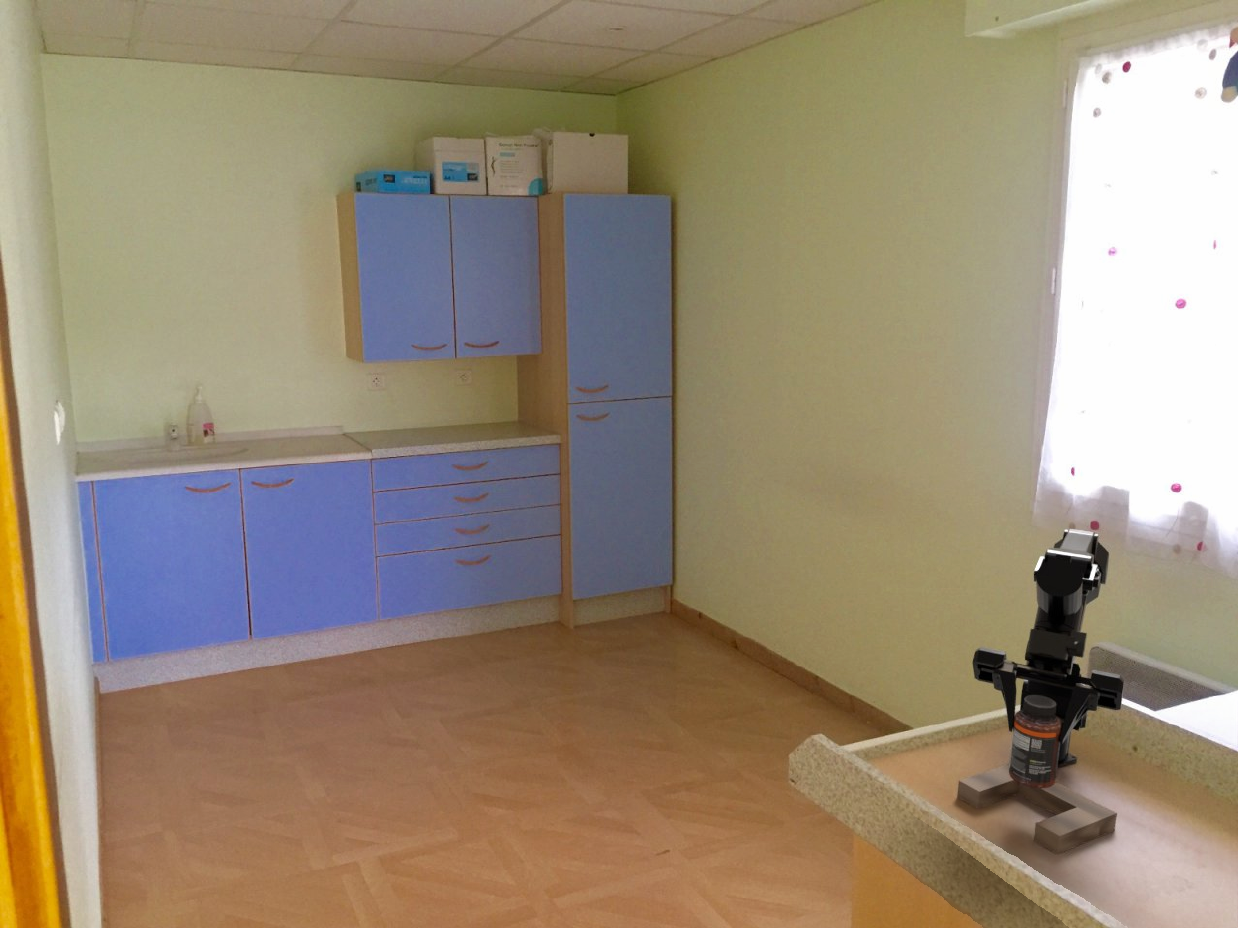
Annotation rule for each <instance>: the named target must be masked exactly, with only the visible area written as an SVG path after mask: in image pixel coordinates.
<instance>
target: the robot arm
mask: <svg viewBox="0 0 1238 928" xmlns="http://www.w3.org/2000/svg"><path fill="white" fill-rule="evenodd" d="M1109 558H1110V552H1109V551H1108V550H1107V549H1106V547H1104V546H1103V545H1102V544H1101V543H1100V541H1099V534H1098V533H1095V531H1089V530H1082V529H1075V528H1069V529H1064V531H1063V536H1062V538H1061V539H1060V540H1059V541H1057V542H1055V543H1054V545H1053V547H1050V548H1048V549H1046V550H1045V553H1044V555H1039V559H1038V560H1037V564H1036V566H1035V568H1034V571H1033V582H1035V585H1036V587H1035V588H1036V601H1037V605H1038V606H1037V609H1036V615H1035V619H1034V625H1033V628H1030V629H1029V630H1030V632H1029V637H1028V640H1027V643H1026V644H1027V645H1026V647H1025V648H1026V649H1025V653H1024V661H1026V663H1025V664H1022V663H1017V662H1014V661H1013V660H1009V659H1008V658H1007V652H1006V651H1002V650H998V649H993V648H992V649H991V648H989V647H988V648H987V647H982V646H980V647H979V648H977V649H976V650H975V651H974V654H973V657H972V658H973V659H972V669H973V675H974V676H973V677H974V679H976V680H977V681H979V682H983V683H987V684H993V689H995V690H996V691H1000V692H1001V694H1002V698H1003V701H1004V705H1005V710H1006V718H1007V725H1008V726H1007V727H1008V732H1010V733H1013V725H1014V718H1015V715H1016V705H1017V679H1020V680H1023V683H1022V688H1021V694H1020V695H1021V696H1020V705H1019V707H1020V708H1019V711H1020V710H1022V709H1023V704H1024V698H1025V697H1026V696H1029V695H1040V696H1045V697H1048V698H1050V699H1052V700H1054V701H1055V702H1056V713H1055V715H1056V716H1057V717H1058V718H1059V719H1060V720H1061V723H1062V729H1061V734H1060V740H1059V743H1060V750H1059V758H1058V767H1057V769H1058V768H1061V767H1062V766H1063V767H1064V766H1066V765H1069V764H1072V763H1074V762H1077V761H1078V757H1077V756H1075V755H1073V754H1072V753H1069V749H1070V742H1071V737H1072V736H1071V735H1072V730H1075V731H1077V732H1079V731H1080V729H1084V728H1086V726H1087V717H1088V711H1092V712H1096V711H1097V710H1098V707H1099V708H1103V709H1108V710H1113V711H1121V709H1122V703H1123V696H1124V688H1125V687H1124V686H1125V680H1124V678H1123V677H1122V675H1121V674H1117V673H1113V672H1107V671H1102V670H1096V669H1092V670H1091V674H1090V678H1089V677H1084V676H1082V674H1081V667H1080V665H1079V663H1077V662H1076V657H1077V658H1084V655H1085V652H1086V651H1085V650H1086V645H1087V644H1086V643H1087V637H1088V634H1087V632H1082V628H1083V622H1084V618H1085V613H1086V607H1087V605H1088V604H1090V603H1091V602H1093V601H1094V600H1096V599H1097V598H1099V596H1100V592H1101V591H1100V590H1101V586H1102V585H1106V583H1107V578H1108V572H1109V562H1110V561H1109V560H1110V559H1109Z"/></svg>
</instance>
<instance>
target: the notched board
mask: <svg viewBox="0 0 1238 928" xmlns="http://www.w3.org/2000/svg"><path fill="white" fill-rule="evenodd" d="M957 785H958V786H957V787H958V788H957V794H956V796H957V798H958V799H960V800H962V801H963V802H965V803H967V804H969V805H970V806H972V807H973V808H976V809H977V810H978V809H980V808H983V807H985V806H986V807H987V806H989V805H992V804H994V803H997V802H1000V801H1002V800H1006V799H1009V798H1011V797H1013V796H1017V795H1019V796H1021V797H1023V798H1025V799H1027V800H1029V802H1032V803H1034V804H1036V805H1038V806H1040V807H1041V808H1044V809H1045V810H1047V811H1049V812H1050V813H1052V814H1055V815H1053V816H1051V817H1048V818H1045V819H1043V820H1040V821H1037V822H1035V827H1034V834H1033V841H1034V842H1036V843H1037V844H1039V845H1040V846H1042V847H1044V848H1045V849H1047V850H1050V851H1051V852H1052V853H1054V854H1056V855H1058V854H1061V853H1063V852H1065V851H1067V850H1071V849H1073V848H1075V847H1078V846H1080V845H1082V844H1085V843H1087V842H1090V841H1092V840H1094V839H1097V838H1099V837H1102V836H1104V835H1107V834H1109V833H1112V832H1114V831H1115V830H1116V824H1117V816H1118V813H1117V812H1116V811H1114V810H1111V809H1110V808H1108V807H1106V806H1103V805H1102V804H1099V803H1098V802H1096V801H1094V800H1092V799H1090V798H1088V797H1086V796H1084V795H1082V794H1080V793H1078V792H1076V791H1074V790H1072V789H1070V788H1068V787H1066V786H1065V785H1062V784H1061V783H1059V782H1056V781H1055V784H1054V785H1053V786H1051V787H1048V788H1031V787H1028V786H1024V785H1021V784H1019V783H1018V782H1016V781H1015V780H1013V779H1012V778H1011V776H1010V774H1009V763H1008V764H1004V765H1002V766H998V767H995V768H992V769H990V770H989V769H988V770H987V771H984V772H980V773H977V774H975V775H971V776H968V777H965V778H963V779H959V780H958V784H957Z"/></svg>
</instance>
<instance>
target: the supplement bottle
mask: <svg viewBox="0 0 1238 928" xmlns="http://www.w3.org/2000/svg"><path fill="white" fill-rule="evenodd" d="M1055 713H1056V702H1055V701H1054V700H1052V699H1050V698H1048V697H1045V696H1040V695H1029V696H1026V697H1025V698H1024V704H1023V709H1022V710H1020V709H1019V710H1018V711H1017V712H1015V718H1014V725H1013V730H1012V734H1011V735H1012V736H1011V745H1010V746H1011V747H1010V756H1009V762H1008V764H1009V774H1010V776H1011V778H1012V779H1013V780H1015V781H1016V782H1018V783H1019V784H1021V785H1024V786H1028V787H1031V788H1048V787H1051V786H1053V785H1054V784H1055V782H1056V780H1057V775H1058V768H1059V767H1058V758H1059V750H1060V743H1059V740H1060V734H1061V729H1062V723H1061V720H1060V719H1059V718H1058V717H1057V716H1056V715H1055ZM1057 767H1058V768H1057Z"/></svg>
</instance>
